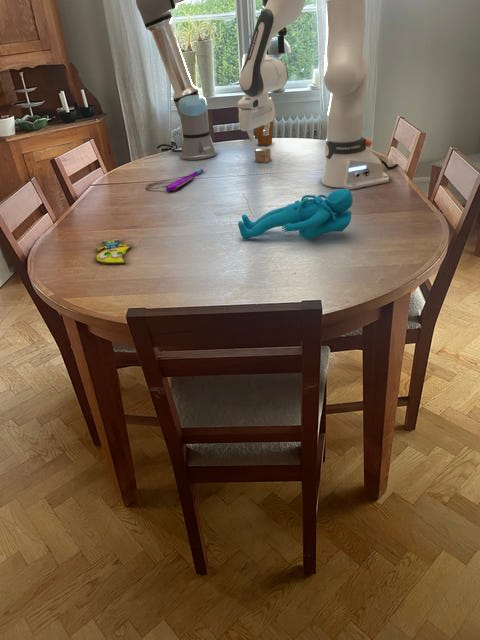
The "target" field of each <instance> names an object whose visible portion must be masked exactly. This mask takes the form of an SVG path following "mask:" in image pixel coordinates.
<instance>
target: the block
mask: <svg viewBox="0 0 480 640" xmlns="http://www.w3.org/2000/svg"><path fill="white" fill-rule="evenodd" d="M271 155H272V152H271V148H267V147H259V148H257V149H255V150H254V160H255V163H260V164H261V163H262V164H263V163H264V164H266V163H268V162H270V161H271V160H272V156H271Z"/></svg>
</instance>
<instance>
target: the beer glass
mask: <svg viewBox="0 0 480 640" xmlns="http://www.w3.org/2000/svg"><path fill="white" fill-rule="evenodd" d="M274 123H275V120H274V121H272V122H270V127H269V135H267V136H264V135H263V131H264V125H262V126H260V127H257V128H255V129H254V130H255V134H256V140H257V144H258V145H259V146H269V145H271V144H273V143H272V142H273V135H274Z"/></svg>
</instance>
